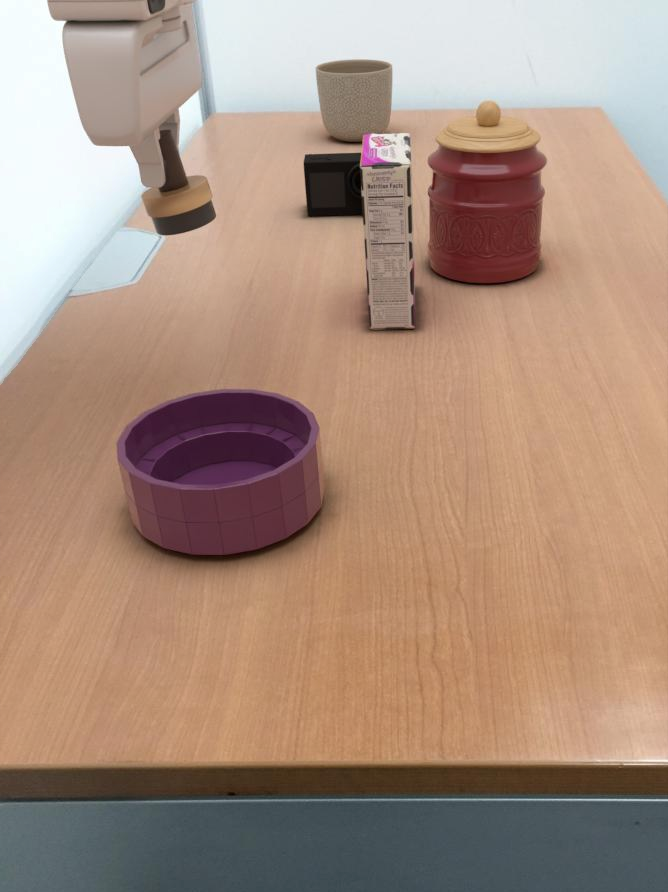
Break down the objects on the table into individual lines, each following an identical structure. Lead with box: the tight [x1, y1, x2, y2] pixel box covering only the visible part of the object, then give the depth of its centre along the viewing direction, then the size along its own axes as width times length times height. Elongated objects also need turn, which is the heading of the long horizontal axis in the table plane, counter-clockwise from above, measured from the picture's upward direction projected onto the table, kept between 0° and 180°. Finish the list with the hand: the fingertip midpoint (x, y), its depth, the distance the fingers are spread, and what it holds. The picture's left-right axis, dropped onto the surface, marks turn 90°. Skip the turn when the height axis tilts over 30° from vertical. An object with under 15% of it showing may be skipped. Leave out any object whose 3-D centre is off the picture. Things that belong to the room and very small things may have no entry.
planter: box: [315, 58, 393, 143], centre depth 157 cm, size 12×12×11 cm
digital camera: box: [303, 152, 363, 217], centre depth 126 cm, size 10×5×7 cm, turn 92°
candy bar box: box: [360, 132, 416, 331], centre depth 96 cm, size 11×5×16 cm, turn 0°
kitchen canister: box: [427, 100, 548, 284], centre depth 106 cm, size 13×13×18 cm
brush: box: [140, 130, 217, 236], centre depth 75 cm, size 5×5×7 cm
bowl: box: [115, 388, 326, 556], centre depth 70 cm, size 14×14×6 cm
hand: (162, 178), depth 75 cm, fingers closed on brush, 2 cm apart
